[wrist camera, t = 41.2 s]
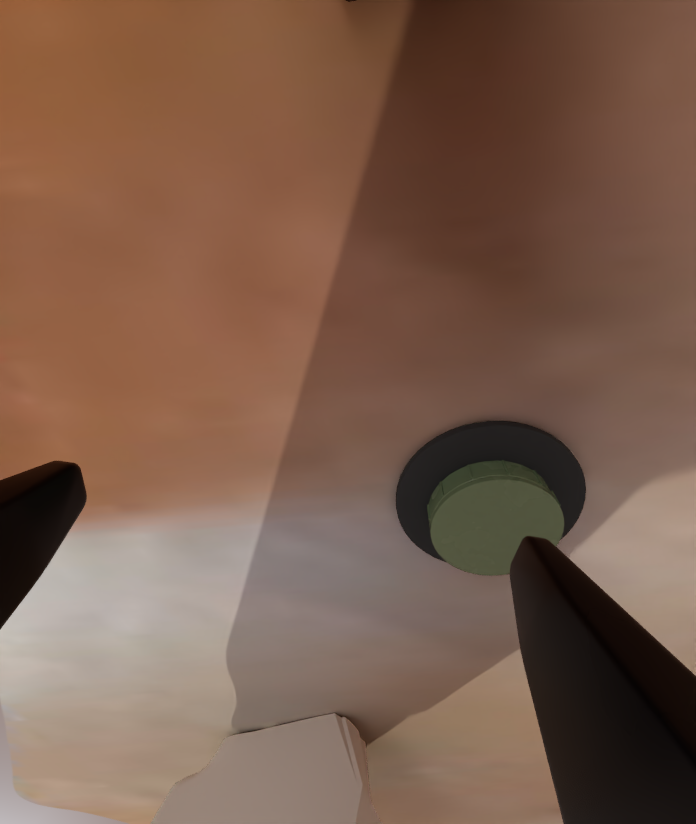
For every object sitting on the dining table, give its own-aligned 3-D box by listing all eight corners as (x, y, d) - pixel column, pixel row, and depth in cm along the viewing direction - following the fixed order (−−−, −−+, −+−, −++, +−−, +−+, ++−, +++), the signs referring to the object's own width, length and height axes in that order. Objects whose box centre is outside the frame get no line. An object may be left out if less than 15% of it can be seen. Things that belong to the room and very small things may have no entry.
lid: (420, 468, 21) (422, 488, 20) (553, 451, 20) (566, 471, 19) (434, 557, 24) (438, 580, 23) (551, 546, 23) (562, 570, 22)
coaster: (377, 440, 21) (377, 446, 21) (580, 402, 19) (585, 407, 19) (414, 570, 26) (415, 576, 25) (583, 550, 24) (586, 556, 23)
